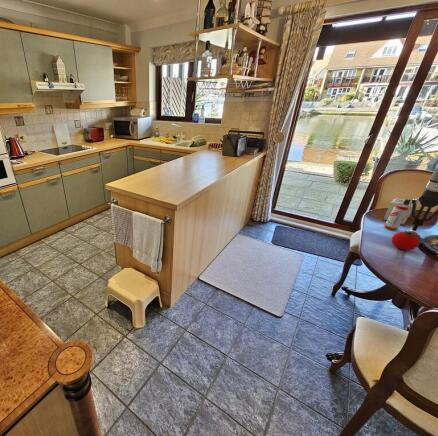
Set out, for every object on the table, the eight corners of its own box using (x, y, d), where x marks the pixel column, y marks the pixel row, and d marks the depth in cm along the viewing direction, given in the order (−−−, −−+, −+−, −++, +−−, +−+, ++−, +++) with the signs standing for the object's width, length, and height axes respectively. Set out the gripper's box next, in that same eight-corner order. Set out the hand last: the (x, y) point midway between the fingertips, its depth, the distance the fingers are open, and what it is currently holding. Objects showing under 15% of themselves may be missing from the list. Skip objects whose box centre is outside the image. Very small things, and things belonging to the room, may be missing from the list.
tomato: (383, 243, 138) (391, 227, 133) (399, 242, 139) (408, 227, 134) (401, 254, 128) (411, 238, 124) (419, 253, 129) (429, 237, 125)
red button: (417, 235, 138) (418, 232, 138) (415, 237, 136) (417, 235, 135) (407, 232, 141) (408, 230, 141) (405, 234, 139) (407, 232, 138)
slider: (409, 204, 154) (411, 199, 153) (408, 205, 153) (410, 200, 152) (403, 203, 156) (406, 198, 155) (403, 204, 155) (405, 199, 153)
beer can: (393, 227, 155) (406, 204, 147) (399, 232, 149) (412, 208, 142) (381, 225, 156) (393, 202, 149) (386, 230, 151) (399, 206, 144)
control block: (422, 241, 139) (425, 235, 137) (419, 246, 135) (423, 240, 133) (398, 235, 146) (401, 229, 144) (395, 239, 142) (398, 233, 140)
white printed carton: (407, 220, 163) (416, 202, 157) (403, 225, 156) (412, 207, 151) (387, 215, 170) (395, 197, 165) (382, 220, 164) (390, 202, 158)
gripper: (416, 188, 130) (397, 227, 140) (453, 195, 120) (429, 236, 131) (419, 185, 134) (400, 223, 144) (455, 191, 124) (431, 232, 135)
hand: (414, 229), depth 137 cm, fingers closed
